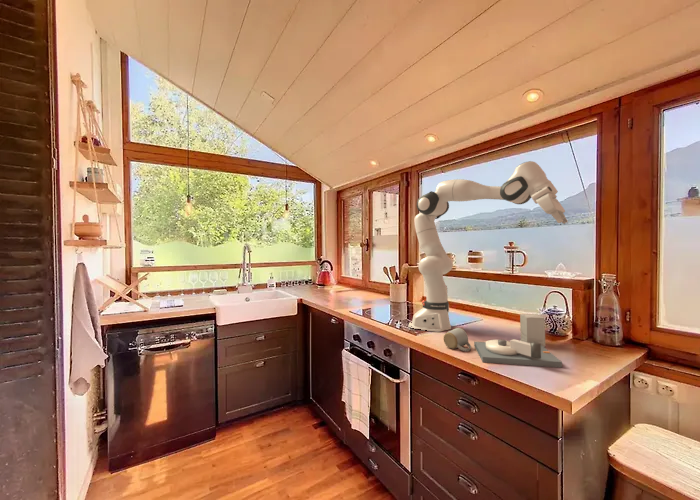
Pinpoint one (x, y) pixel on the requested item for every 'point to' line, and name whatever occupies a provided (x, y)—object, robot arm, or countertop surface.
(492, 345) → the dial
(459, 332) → the ceramic mug
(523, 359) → the stand
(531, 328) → the supplement box
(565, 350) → the countertop surface
